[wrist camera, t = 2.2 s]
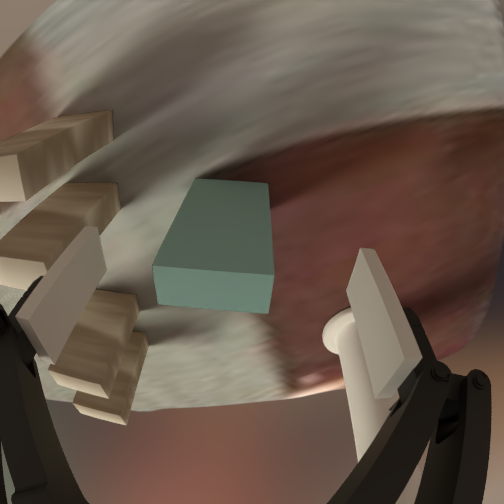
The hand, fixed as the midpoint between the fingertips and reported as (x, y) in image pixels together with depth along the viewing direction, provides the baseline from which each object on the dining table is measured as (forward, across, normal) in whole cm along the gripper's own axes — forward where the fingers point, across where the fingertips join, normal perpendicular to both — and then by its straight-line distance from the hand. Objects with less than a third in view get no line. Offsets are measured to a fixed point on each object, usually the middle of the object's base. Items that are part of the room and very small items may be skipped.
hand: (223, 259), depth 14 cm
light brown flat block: (+8, -11, -17) cm, 22 cm away
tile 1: (+8, -11, +5) cm, 15 cm away
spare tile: (+8, 0, 0) cm, 8 cm away
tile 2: (+8, -11, -1) cm, 14 cm away
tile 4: (+8, -11, -12) cm, 18 cm away
